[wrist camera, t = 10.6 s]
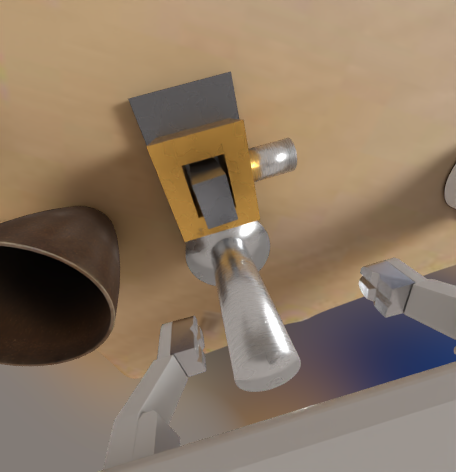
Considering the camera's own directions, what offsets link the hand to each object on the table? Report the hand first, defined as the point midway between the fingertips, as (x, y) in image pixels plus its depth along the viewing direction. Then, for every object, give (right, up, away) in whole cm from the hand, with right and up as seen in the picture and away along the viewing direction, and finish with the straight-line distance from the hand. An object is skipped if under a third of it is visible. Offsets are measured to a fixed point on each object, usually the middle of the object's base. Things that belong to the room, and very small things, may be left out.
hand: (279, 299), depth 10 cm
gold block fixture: (-3, +11, +22) cm, 25 cm away
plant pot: (-23, +4, +22) cm, 32 cm away
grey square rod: (-6, +12, +20) cm, 23 cm away
